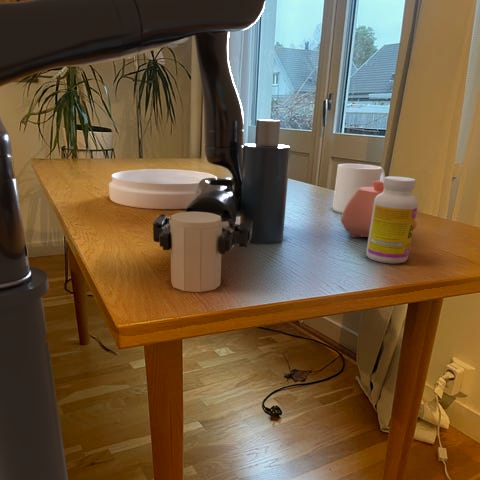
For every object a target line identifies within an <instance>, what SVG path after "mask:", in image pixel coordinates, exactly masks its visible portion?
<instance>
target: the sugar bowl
mask: <svg viewBox="0 0 480 480" xmlns="http://www.w3.org/2000/svg"><path fill="white" fill-rule="evenodd" d="M383 183H384V181H373V185H374V187H361V188H359V189H358V190H357V191H356V192H355V194H354V195H353V196H352V197H351V199H350V200H349V202H348V203H347V205H346V207H345V209H344V211H343V213H341V217H340V220H341V224H342V226H343V228H344V230H346V232H347V233H349V234H350V236H351V237H353V238H362V237H364V238H369V232H370V225H371V219H372V213H373V206H374V200H375V198H376V196H377V195H378V194H380V193H383V191H384V185H383ZM417 225H418V224H417V221H416V220H415V222H414V228H413V231H414V230H415V229H416V228H417Z"/></svg>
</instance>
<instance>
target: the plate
mask: <svg viewBox="0 0 480 480" xmlns="http://www.w3.org/2000/svg"><path fill="white" fill-rule="evenodd" d="M205 178H218V177H217V175H214V174H212V173H208V172H205V171H204V172H203V171H198V170H197V171H196V170H190V169H189V170H187V169H173V168H142V169H141V168H140V169H139V168H138V169H129V170H128V169H127V170H122V171H117V172H114V173H112V174H111V180H110V182H109V183H108V191H109V193H108V195H109V199H110V201H111V202H113V203H115V204H118V205H121V206H125V207H131V208H138V209H148V210H186V209H187V207H188V206H189V204H190V203H191V202H192V201H193V200H194V199H195V198H196V190H197V186H198V184H199V182H200V181H201V180H202V179H205Z"/></svg>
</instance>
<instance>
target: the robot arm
mask: <svg viewBox="0 0 480 480" xmlns="http://www.w3.org/2000/svg"><path fill="white" fill-rule="evenodd" d="M265 5H266V0H21V1H14V2H13V1H11V2H10V1H8V2H0V88H1V87H3V86H6V85H9V84H11V83H14V82H16V81H18V80H21V79H24V78H28V77H31V76H33V75H36V74H39V73H41V72H45V71H48V70H53V69H59V68H70V67H84V66H92V65H100V64H106V63H111V62H117V61H120V60H124V59H128V58H133V57H136V56H139V55H143V54H146V53H148V52H153V51H155V50H159V49H161V48H165V47H168V46H170V45H172V44H175V43H178V42H180V41H183V40H185V39H188V38H191V37H194V42H195V48H196V55H197V63H198V69H199V77H200V83H201V90H202V91H201V92H202V101H203V125H204V126H203V131H204V132H203V135H204V137H203V138H204V139H203V140H204V141H203V143H204V158H205V160H206V162H207V163H208V164H210V165H214V166H217V167H221V168H224V169H226V170H228V171H229V173H230V174H231V176H232V178H231V177H217V178H205V179H202V180H201V181H200V182H199V184H198V186H197V190H196V198H195V199H194V200H193V201H192V202H191V203H190V204H189V206H188V207H187V209H184V212H207V213H213V214H216V215H219V216H220V217H221V224H222V234H221V236H220V250H219V253H220V254H221V255H226V253H227V252H231V251H232V249H233V248H234V247H235V245H238V247H239V248H242V249H243V248H247V247H248V246H249V244H250V243H251V242H250V240H251V238H252V225H253V221H252V220H249V219H247V220H244V222H240V221H239V224H238V223H236V222H237V217H238V218H240V213H241V189H242V165H243V145H244V127H245V126H244V125H245V124H244V111H243V106H242V102H241V99H240V97H239V93H238V90H237V88H236V85H235V82H234V78H233V74H232V72H231V71H232V70H231V66H230V60H229V38H230V33H234V32H235V33H236V32H242V31H245V30H247V29H249V28H250V27H252V26H253V25H254V24H256V22H258V20H259V19H260V17H261V15H262V13H263V12H264V9H265ZM18 189H19V188H18V182H17V175H16V168H15V162H14V156H13V149H12V143H11V138H10V134H9V132H8V130H7V128H6V127H5V125H4V122H3V121H2V118H1V117H0V290H5V289H10V288H14V287H17V286H20V285H23V284H25V283H27V282H28V281H29V280H30V279H31V271H30V269H29V267H31V266H30V261H29V254H28V252H29V251H28V247H27V242H26V236H25V228H24V222H23V215H22V209H21V203H20V197H19V190H18ZM170 222H171V219H170V217H169V216H168V215H167V214H164V213H161V214H159V215H158V216H157V217H156V218H155V219H154V221H153V222H152V236H153V237H152V238H153V239H152V240H153V242H155V243H159V248H162V250H163V251H167V252H168V251H171V236H170Z"/></svg>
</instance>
